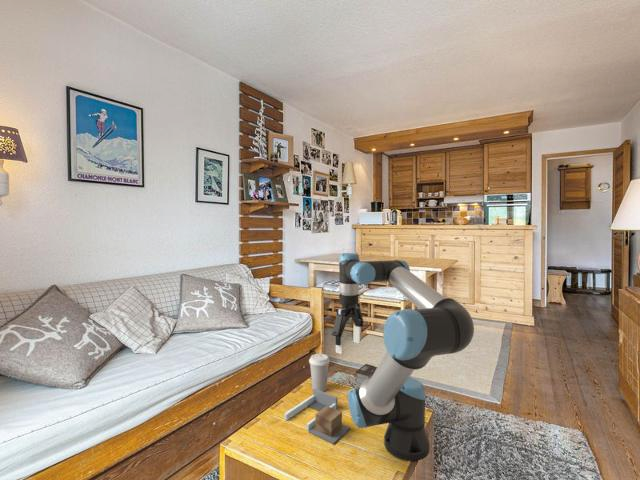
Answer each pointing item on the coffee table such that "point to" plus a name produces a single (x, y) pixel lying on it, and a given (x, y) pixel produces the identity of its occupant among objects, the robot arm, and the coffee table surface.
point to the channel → (313, 405)
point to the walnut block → (328, 421)
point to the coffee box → (364, 374)
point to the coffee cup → (319, 371)
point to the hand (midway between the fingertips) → (348, 347)
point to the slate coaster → (328, 438)
